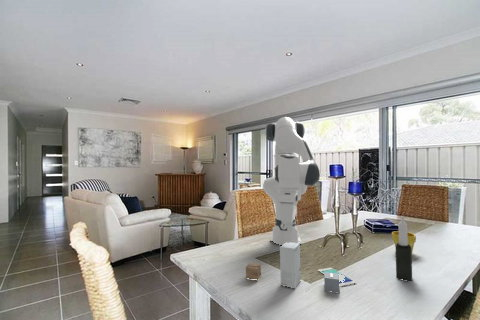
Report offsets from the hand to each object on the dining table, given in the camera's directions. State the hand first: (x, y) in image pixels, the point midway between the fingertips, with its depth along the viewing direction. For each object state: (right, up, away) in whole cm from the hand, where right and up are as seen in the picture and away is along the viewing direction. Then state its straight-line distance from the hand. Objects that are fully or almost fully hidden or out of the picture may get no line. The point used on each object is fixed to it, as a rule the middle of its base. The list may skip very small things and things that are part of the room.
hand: (289, 230), depth 95 cm
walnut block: (-14, -21, +4) cm, 25 cm away
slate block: (+14, -20, -5) cm, 25 cm away
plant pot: (+66, -21, +31) cm, 76 cm away
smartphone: (+20, -21, +4) cm, 29 cm away
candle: (+47, -20, +3) cm, 51 cm away
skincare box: (0, -21, -1) cm, 21 cm away
